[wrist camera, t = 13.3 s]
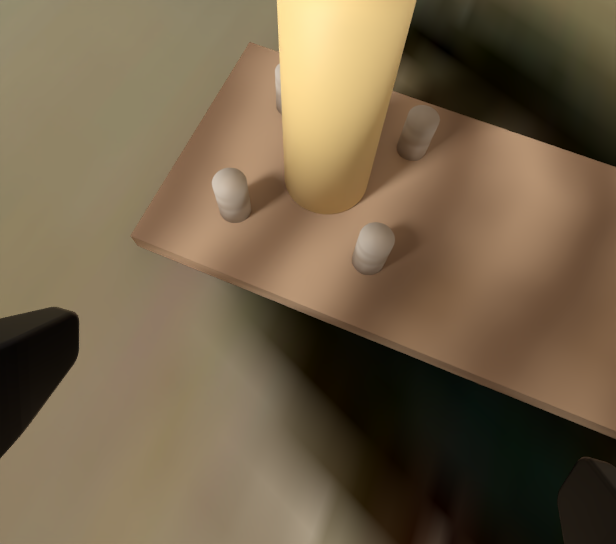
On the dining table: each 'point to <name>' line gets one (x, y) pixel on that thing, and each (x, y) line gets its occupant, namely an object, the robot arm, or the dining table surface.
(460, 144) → the board
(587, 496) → the robot arm
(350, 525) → the dining table surface
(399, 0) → the post
